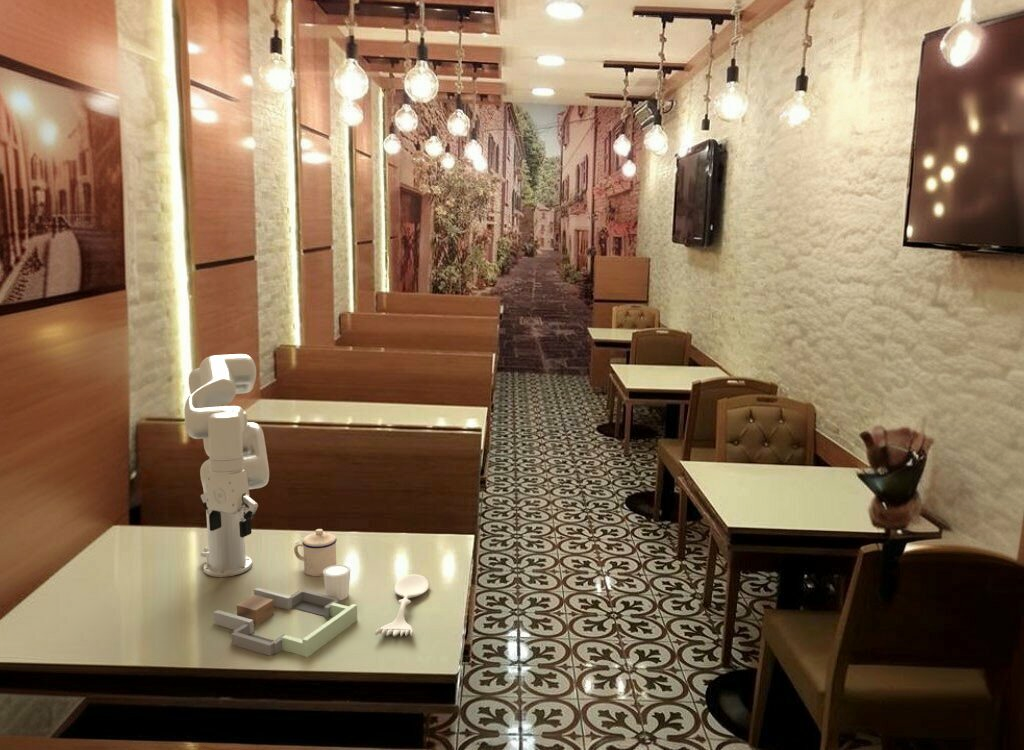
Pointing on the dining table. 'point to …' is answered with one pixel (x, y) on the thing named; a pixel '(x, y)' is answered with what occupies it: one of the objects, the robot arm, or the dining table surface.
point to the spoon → (405, 603)
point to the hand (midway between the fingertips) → (230, 532)
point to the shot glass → (337, 581)
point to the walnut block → (256, 608)
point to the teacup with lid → (317, 552)
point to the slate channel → (304, 647)
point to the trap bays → (268, 647)
